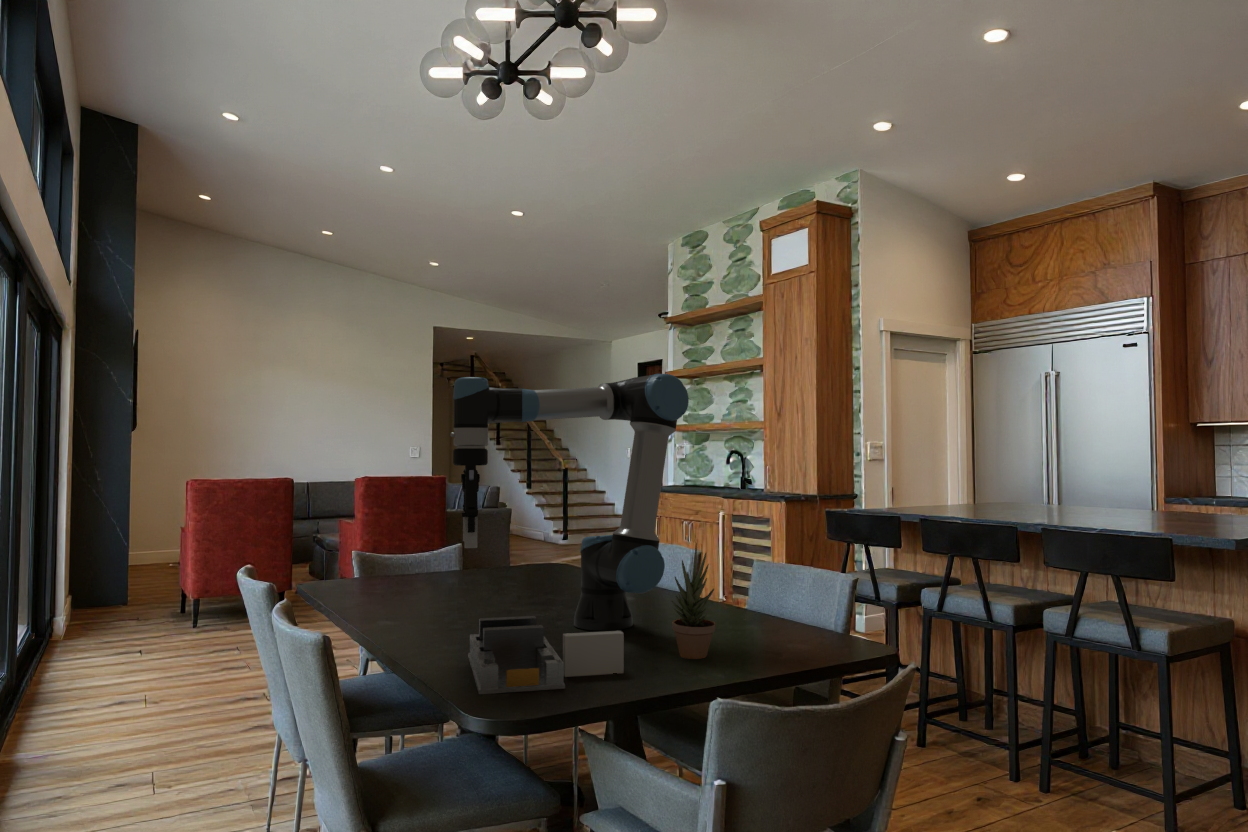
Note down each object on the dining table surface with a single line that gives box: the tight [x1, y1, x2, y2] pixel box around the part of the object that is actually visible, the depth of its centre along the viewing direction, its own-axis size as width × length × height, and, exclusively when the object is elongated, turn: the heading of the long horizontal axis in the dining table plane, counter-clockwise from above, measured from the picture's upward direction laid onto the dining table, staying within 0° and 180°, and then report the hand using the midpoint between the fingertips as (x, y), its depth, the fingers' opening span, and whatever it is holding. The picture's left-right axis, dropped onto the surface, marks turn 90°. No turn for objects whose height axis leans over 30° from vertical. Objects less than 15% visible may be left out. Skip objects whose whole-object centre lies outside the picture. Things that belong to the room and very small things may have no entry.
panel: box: [562, 630, 625, 678], centre depth 168 cm, size 3×12×8 cm, turn 105°
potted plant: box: [671, 542, 716, 660], centre depth 183 cm, size 10×10×25 cm
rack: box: [467, 615, 566, 695], centre depth 169 cm, size 29×16×9 cm, turn 14°
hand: (469, 544), depth 182 cm, fingers open, 13 cm apart
